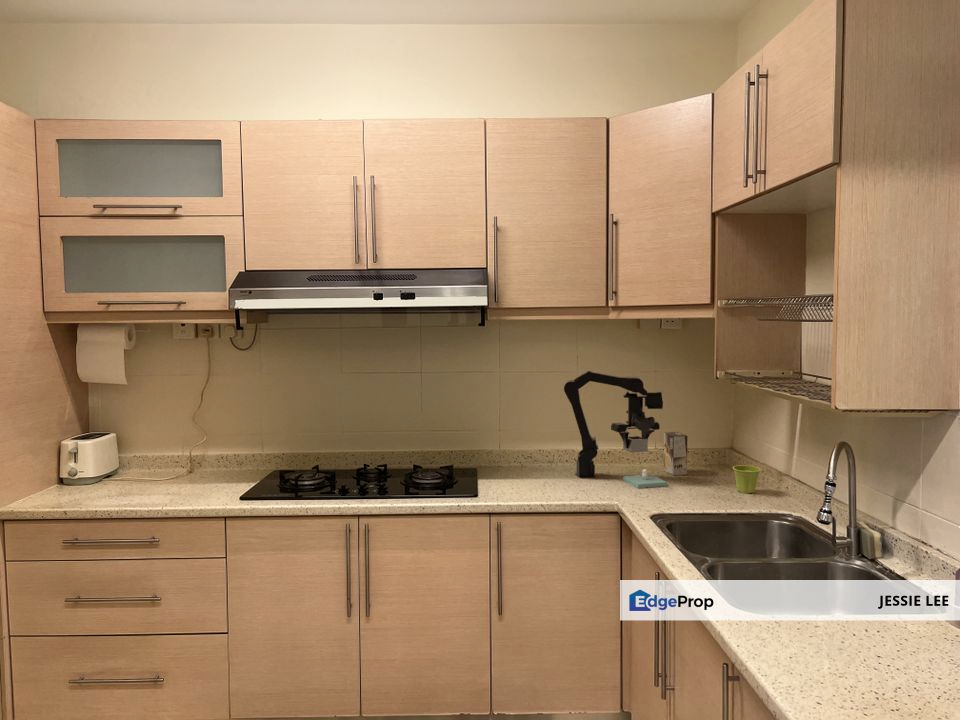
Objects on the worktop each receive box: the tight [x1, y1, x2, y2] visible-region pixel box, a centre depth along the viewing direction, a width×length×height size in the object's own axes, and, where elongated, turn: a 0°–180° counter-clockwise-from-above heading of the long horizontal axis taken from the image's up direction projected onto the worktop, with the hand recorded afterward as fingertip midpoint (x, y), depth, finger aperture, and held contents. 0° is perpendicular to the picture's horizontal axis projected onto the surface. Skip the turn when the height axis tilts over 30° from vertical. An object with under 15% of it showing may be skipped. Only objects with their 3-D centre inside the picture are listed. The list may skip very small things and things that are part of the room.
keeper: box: [623, 468, 668, 489], centre depth 241 cm, size 12×12×6 cm
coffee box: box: [663, 431, 688, 476], centre depth 256 cm, size 9×6×16 cm
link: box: [622, 435, 649, 454], centre depth 248 cm, size 7×7×5 cm
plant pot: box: [732, 464, 762, 495], centre depth 228 cm, size 9×9×9 cm
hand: (635, 447), depth 248 cm, fingers closed on link, 7 cm apart
